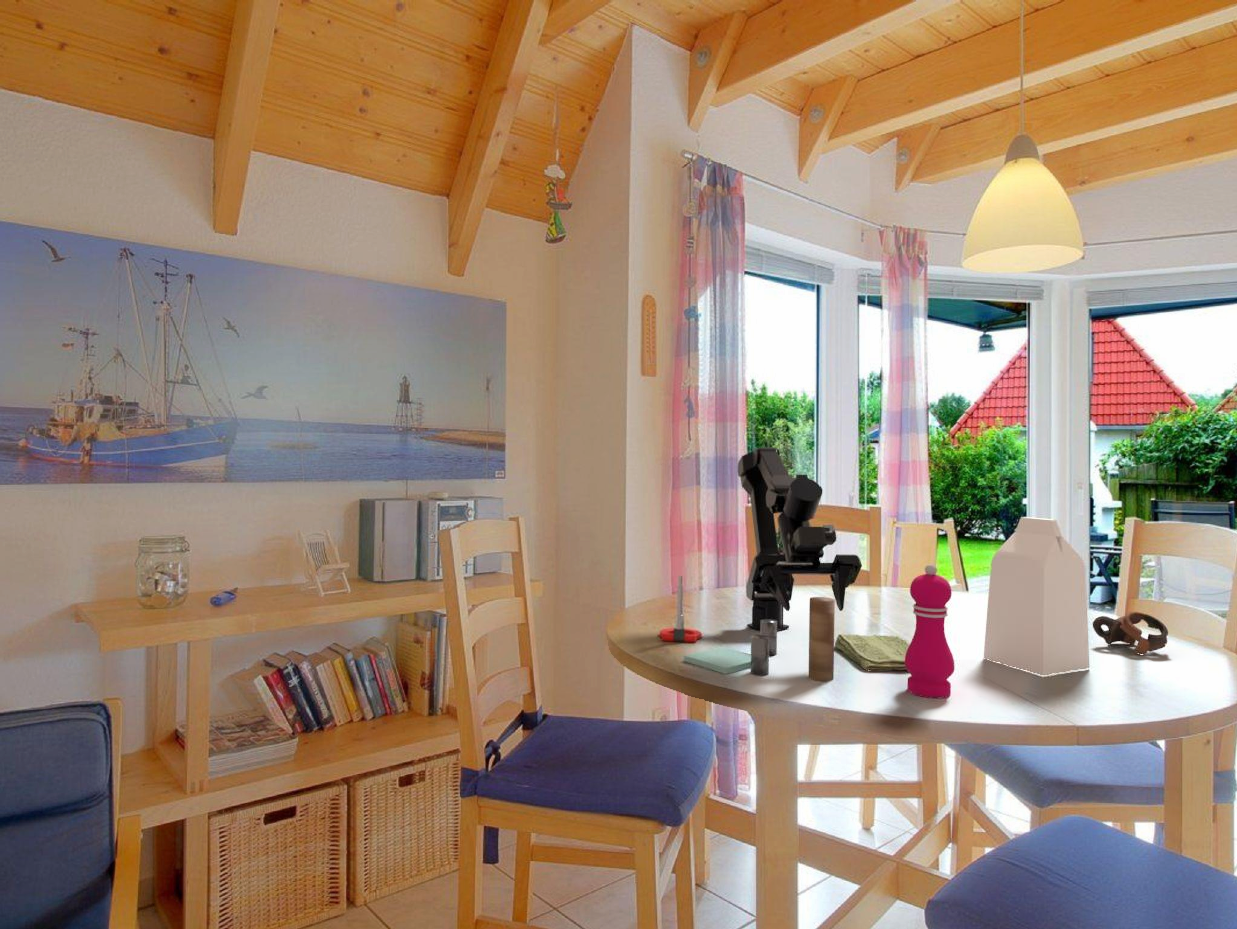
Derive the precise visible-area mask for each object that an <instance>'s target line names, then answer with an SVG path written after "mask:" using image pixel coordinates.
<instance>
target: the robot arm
mask: <svg viewBox="0 0 1237 929" xmlns="http://www.w3.org/2000/svg"><path fill="white" fill-rule="evenodd" d="M737 476H738V477H740V482H741V483H740V484H741V487H742V489H744V491H745V492H746V493H747V494H748V495H749V497H750V505H751V514H752V515H751V516H752V523H753V531H754V532H753V533H754V540H755V548H756V554H755V556H754V557H753V560H752V564H751V567H750V573H749V577H748V579H747V582H746V586H745V593H746V594H745V595H746V597H747V598H748V599H749V600H750V601H752V607H751V623H747V624H746V627H748V628H751V629H755V630H759V631H760V625H761V620H763V619H771V620H776V621H777V632H778V631H781V630H786V629H789V628H790V625H788V624H784V610H785V611H786V612H789V611H790V609H791V605H790V601H791V600H792V598H793V597H792V596H793V590H794V589H793V588H794V584H795V578H794V576H793V575H798V576H829V579H830V581H831V582H832V583H831V589H832V593H833V597H834V600H835V604H836V605H837V606H836V607H837V608H838V610H839V611H840V612H842V611H843V610H844V608H845V605H844V604H845V597H846V596H845V595H846V589H847V588H848V587H849V586H850V585H852V584H855V582H856V580H857V578H858V576H859V574H860V571H861V569H862V567H863V564H862V562H861V558H860V557H859V556H858V554H836V555H835V556H834V559H833V561H832V562H821V559H822V558H823V557H824V555H825V552H824V548H825V547H827V546H832V545H833V544H835V543H836V542H837V532H836V529H835V527H834V525H833V524H823V525H822V526H812V525H811V523H810V520H813V519H814V518H815V515H816V513H817V509H818V507H819V504H820V501H821V498H822V495H823V488H822V486H821V485H820V484H819V483H817V482H816V481H814V480H813V479H811V478H808V474H796V475H795V478H794V477H792V476H791V475H790V473H789V471H788V470H787V468H786V466H785V464H784V462H783V460H782V458H781V456H780V450H779V449H778V448H775V447H762V446H761V447H757V448H754V449H753V450H752V451H751V452H748V453H746V454H744V455H742V456H741V458H740V459H739V460H738V462H737ZM775 514H779V515H778V517H777V526H778V530H777V529H776V528H777V527H776V523H775ZM777 532H778V534H779V535H780V540H781V543H782V546H783V547H782V551H780V550H779V545H778V537H777Z"/></svg>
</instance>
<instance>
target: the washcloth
mask: <svg viewBox="0 0 1237 929" xmlns="http://www.w3.org/2000/svg"><path fill="white" fill-rule="evenodd" d="M909 645H910V643H908V642H907V640H905V639H903V638H901V637H900V636H895V635H877V634H873V635H860V634H849V633H848V634H847V633H846V634H845V633H840V634H838V635H837V637H836V640H835V642H834V647H836V649H837V650H839V651H841V652H842V654H844V655H846V656H847V657H848V658H850V659H851V660H853V661H854V662H855V663H857V664H858V665H859V666H861V667H862V668H863V669H865V670H866V671H868V670H869V671H868V672H871V671H870V670H877V671H878V670H882V671H908V670H907V669H906V667H905V655H906V652H907V649H908V647H909Z"/></svg>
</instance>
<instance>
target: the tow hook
mask: <svg viewBox="0 0 1237 929" xmlns="http://www.w3.org/2000/svg"><path fill="white" fill-rule="evenodd" d="M683 580H684V579H683V575H678V584H677V585H678V586H677V588H676V592H677V593H676V614H675V618H674V619H675V621H674V623H675V626H674V627H673V628H663V629H662V630H660V631H659V636H660V637H661V638H662V639H661V640H662V642H674V643H693V644H695V643H697V640H699V639H701V638H702V634H703V633H702V632H701V630H697V629H693V628H692V629H691V628H685V627H684V626H685V625H684V624H685V616H684V615H683V613H684V586H683ZM686 633H687V634H686Z"/></svg>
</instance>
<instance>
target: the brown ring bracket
mask: <svg viewBox="0 0 1237 929" xmlns="http://www.w3.org/2000/svg"><path fill="white" fill-rule="evenodd" d="M1142 620H1143V621H1144V622H1145V623H1146V624H1147V628H1151V629H1155V630H1159V632H1160V634H1151V633H1148V635H1147V638H1145V637H1143V636H1142V634H1143V631H1142V629H1139V628H1138V627H1137V626H1136V625H1137V624H1139V623H1141V622H1142ZM1102 626H1106V627H1107V628H1108V629H1107V630H1104V629H1103V628H1102ZM1092 628H1093V630H1094V632H1095V634H1096V635H1097V636H1099V637H1100V638H1102V639H1103V640H1104V641H1105V643H1106V644H1107V645H1108V644H1110V645H1111V644H1113V643H1116V642H1122V643H1124V644H1128V643H1130V644H1129V645H1131V644H1134V645H1135V644H1136V642H1138V643H1137V644H1136V647H1135V648H1134V649H1133V652H1134V653H1135V654H1136V653H1139V654H1145V655H1146V654H1148V652H1154V651H1158V650H1161V649H1163V648H1165V647H1166V645H1167V644H1168V638H1167V636H1168V635H1169V631H1168V628H1167V626H1166V625H1165V624H1164V623H1163V622H1161V621H1160V620H1159V619H1157V618H1156V617H1154V616H1152V615H1150V614H1147V613H1144V612H1139V611H1129V612H1126V613H1125V615H1123V616H1120V617H1118V618H1116V619H1115V618H1111V617H1109V616H1105V615H1101V616H1098V617H1096V618H1095V619H1094V620H1093V622H1092Z"/></svg>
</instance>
